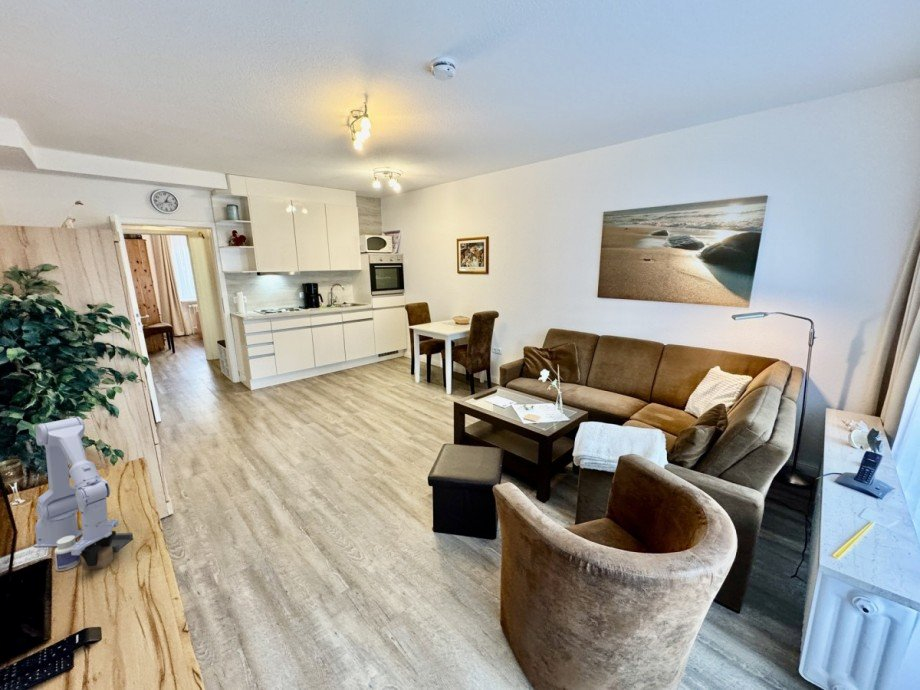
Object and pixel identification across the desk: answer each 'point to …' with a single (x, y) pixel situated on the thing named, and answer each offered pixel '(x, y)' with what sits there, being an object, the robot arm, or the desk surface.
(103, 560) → the walnut block
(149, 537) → the desk surface
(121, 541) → the gray u-shaped channel bracket
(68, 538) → the pill bottle
